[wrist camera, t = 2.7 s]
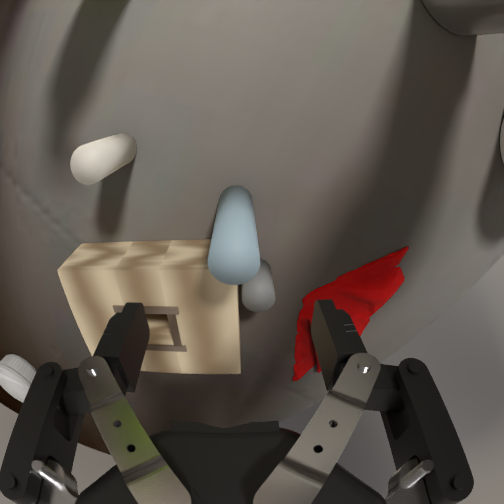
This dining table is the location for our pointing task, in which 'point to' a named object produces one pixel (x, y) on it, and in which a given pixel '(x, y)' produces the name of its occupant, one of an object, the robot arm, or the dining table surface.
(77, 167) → the medium pin
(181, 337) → the hole block
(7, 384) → the ramekin
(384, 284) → the cloth
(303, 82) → the dining table surface
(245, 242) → the long pin
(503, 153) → the toilet tissue
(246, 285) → the short pin
